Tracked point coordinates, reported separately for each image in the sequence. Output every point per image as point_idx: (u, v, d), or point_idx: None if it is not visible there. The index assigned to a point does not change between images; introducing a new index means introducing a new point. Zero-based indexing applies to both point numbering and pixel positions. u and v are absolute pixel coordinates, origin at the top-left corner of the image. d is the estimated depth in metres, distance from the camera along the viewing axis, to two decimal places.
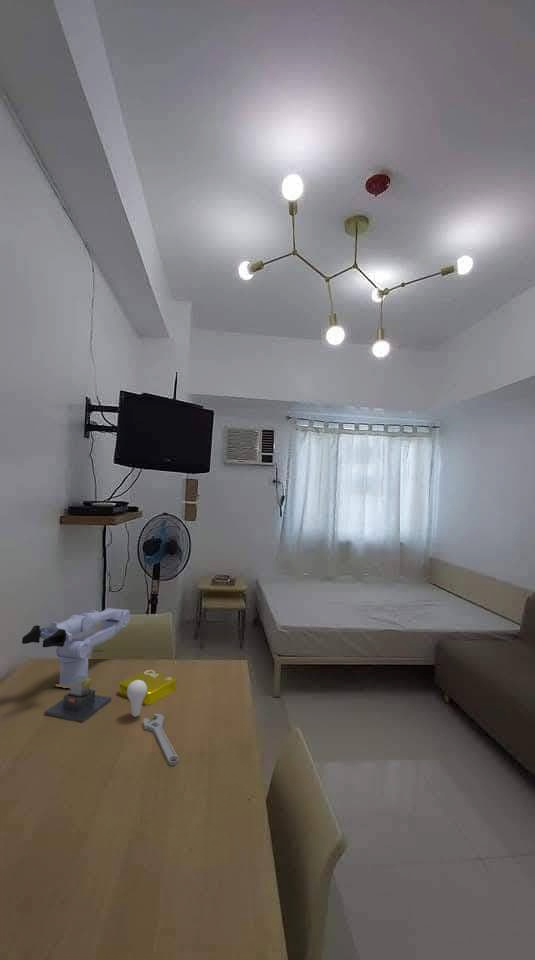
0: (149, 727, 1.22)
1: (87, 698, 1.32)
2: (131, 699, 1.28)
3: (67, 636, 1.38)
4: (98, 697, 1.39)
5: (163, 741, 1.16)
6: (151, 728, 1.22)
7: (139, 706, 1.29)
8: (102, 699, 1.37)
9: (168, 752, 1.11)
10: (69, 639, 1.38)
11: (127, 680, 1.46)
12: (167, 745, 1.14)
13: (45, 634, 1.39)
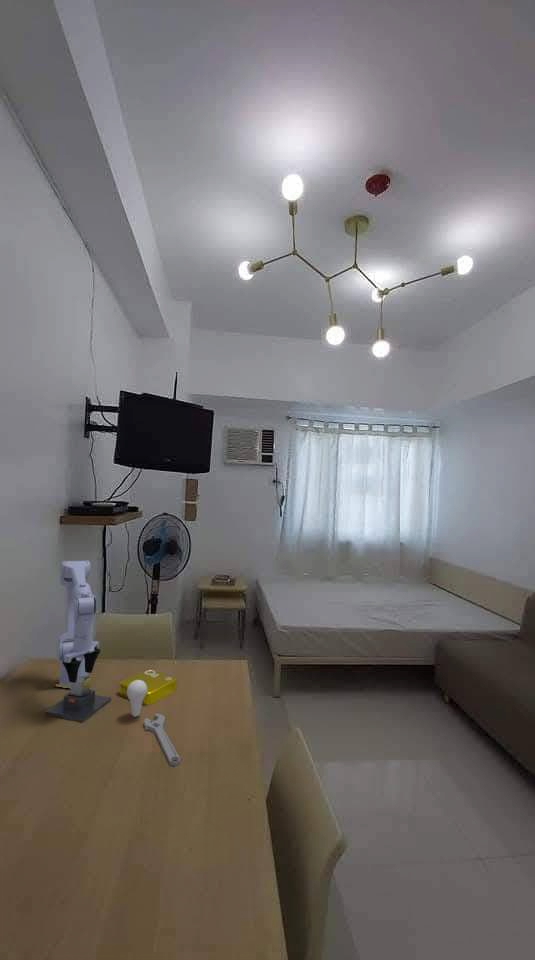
0: (150, 727, 1.22)
1: (87, 698, 1.32)
2: (131, 699, 1.28)
3: None
4: (98, 697, 1.39)
5: (164, 741, 1.16)
6: (152, 728, 1.22)
7: (139, 706, 1.29)
8: (102, 699, 1.37)
9: (169, 753, 1.11)
10: None
11: (127, 680, 1.46)
12: (168, 745, 1.14)
13: (78, 656, 1.33)
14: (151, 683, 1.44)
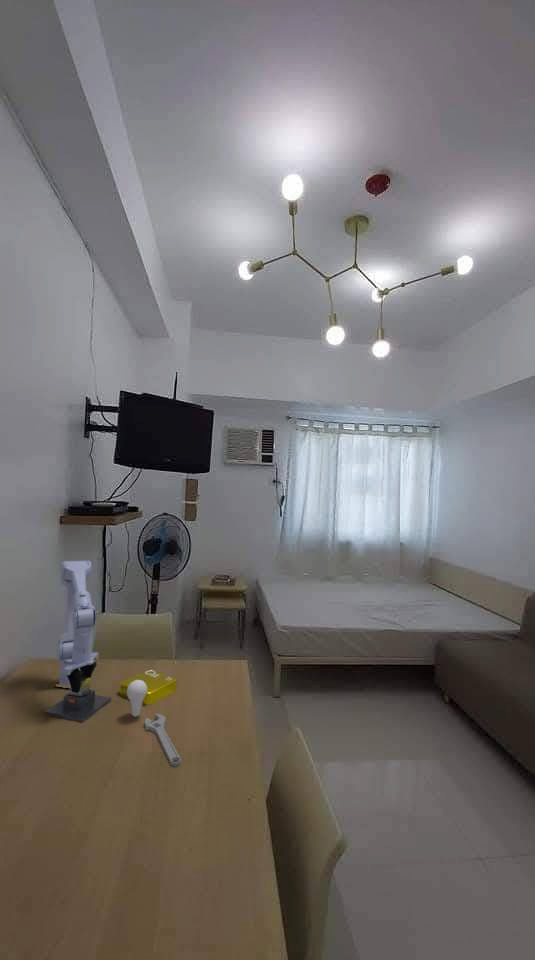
0: (151, 728, 1.22)
1: (87, 698, 1.32)
2: (131, 699, 1.28)
3: None
4: (98, 697, 1.39)
5: (165, 742, 1.15)
6: (153, 729, 1.22)
7: (139, 706, 1.29)
8: (102, 699, 1.37)
9: (170, 753, 1.11)
10: None
11: (127, 680, 1.46)
12: (169, 746, 1.14)
13: (77, 668, 1.33)
14: (151, 683, 1.44)
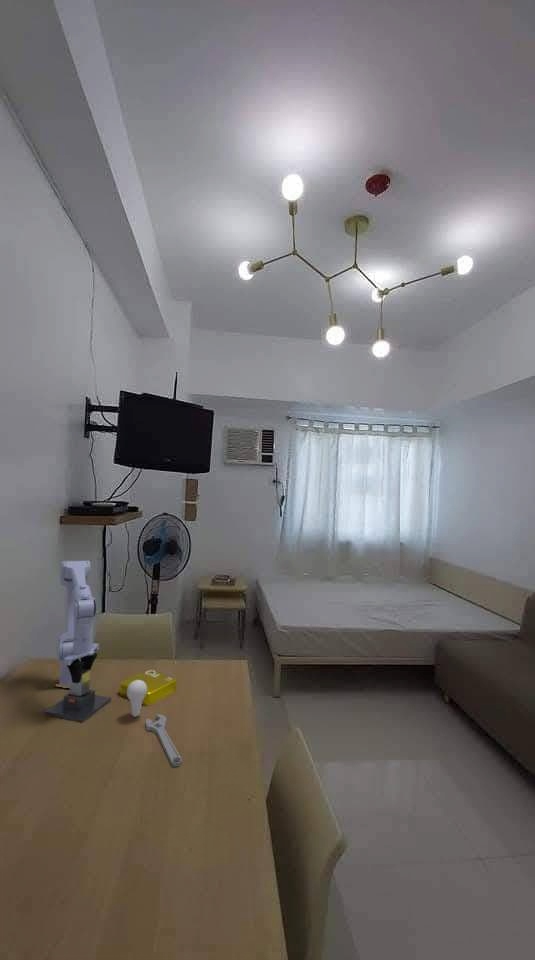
0: (152, 728, 1.22)
1: (87, 698, 1.32)
2: (131, 699, 1.28)
3: None
4: (98, 697, 1.39)
5: (166, 742, 1.15)
6: (154, 729, 1.22)
7: (139, 706, 1.29)
8: (102, 699, 1.37)
9: (171, 753, 1.11)
10: None
11: (128, 680, 1.46)
12: (170, 746, 1.14)
13: (78, 658, 1.33)
14: (151, 683, 1.44)
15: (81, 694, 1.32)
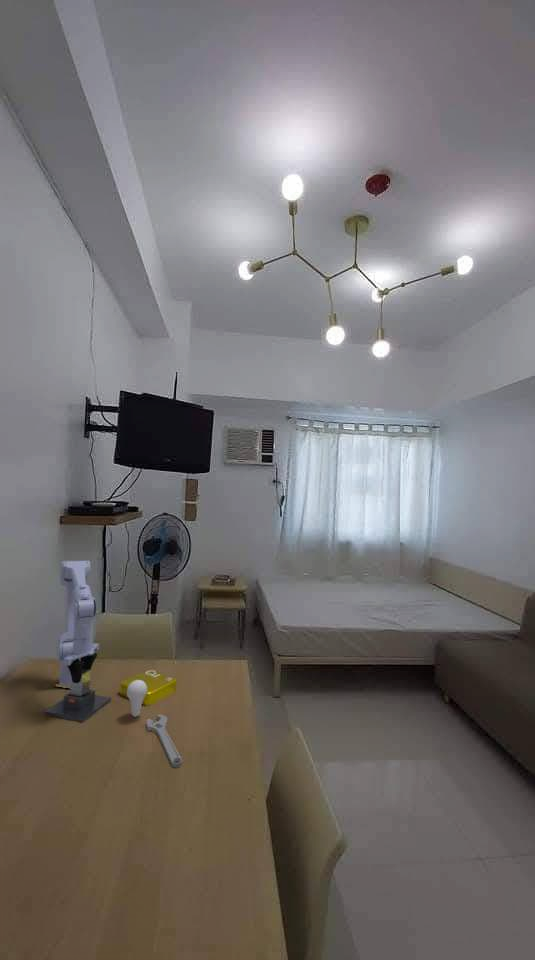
0: (152, 728, 1.22)
1: (87, 698, 1.32)
2: (131, 699, 1.28)
3: None
4: (98, 697, 1.39)
5: (166, 742, 1.15)
6: (154, 729, 1.22)
7: (139, 706, 1.29)
8: (102, 699, 1.37)
9: (171, 754, 1.10)
10: None
11: (128, 680, 1.46)
12: (170, 746, 1.13)
13: (78, 658, 1.33)
14: (151, 683, 1.44)
15: (81, 694, 1.32)
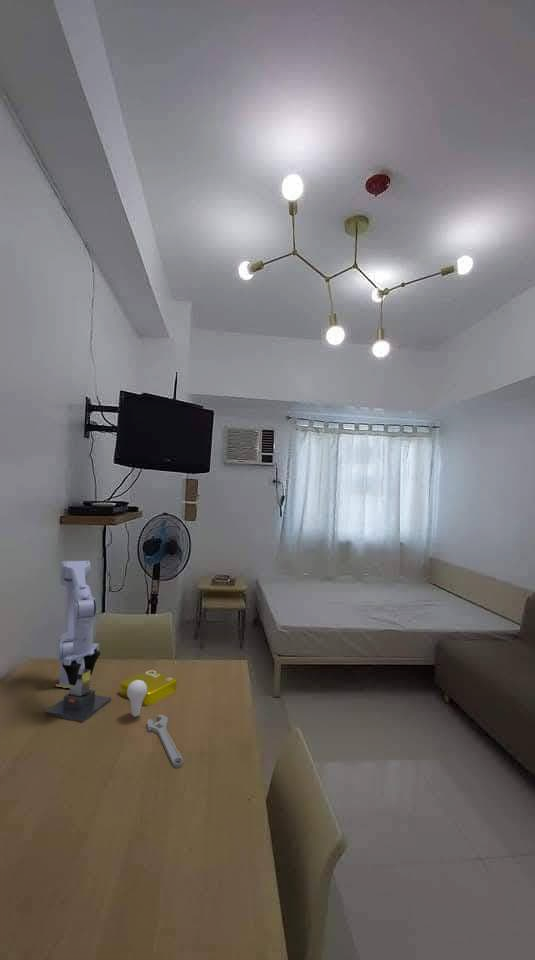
0: (153, 728, 1.22)
1: (87, 698, 1.32)
2: (131, 699, 1.28)
3: None
4: (98, 697, 1.39)
5: (167, 743, 1.15)
6: (155, 729, 1.21)
7: (139, 706, 1.29)
8: (102, 699, 1.37)
9: (172, 754, 1.10)
10: None
11: (128, 680, 1.46)
12: (171, 747, 1.13)
13: (78, 658, 1.33)
14: (151, 683, 1.44)
15: (81, 694, 1.32)
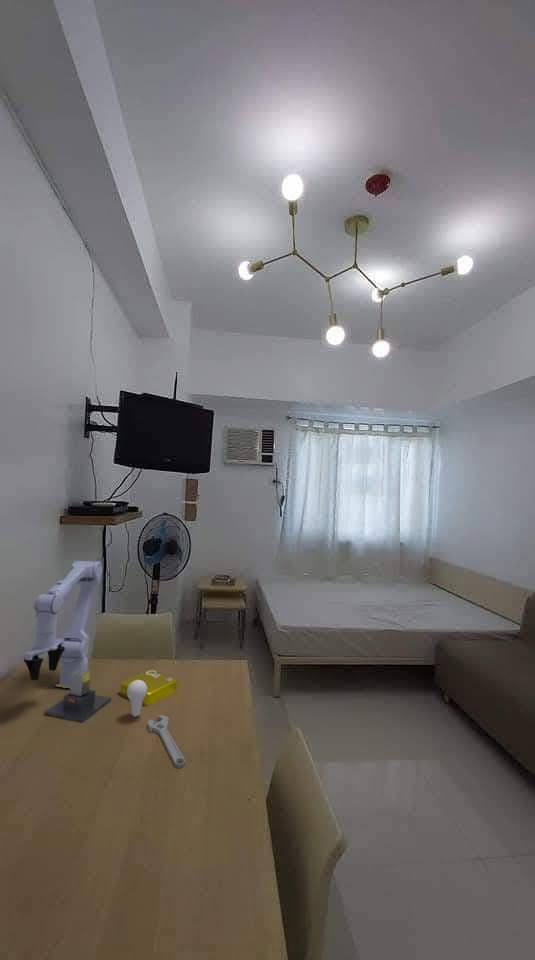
0: (154, 729, 1.22)
1: (87, 698, 1.32)
2: (131, 699, 1.28)
3: None
4: (98, 697, 1.39)
5: (169, 743, 1.15)
6: (156, 730, 1.21)
7: (139, 706, 1.29)
8: (102, 699, 1.37)
9: (174, 754, 1.10)
10: None
11: (128, 680, 1.46)
12: (173, 747, 1.13)
13: (41, 653, 1.32)
14: (152, 683, 1.44)
15: (81, 694, 1.32)
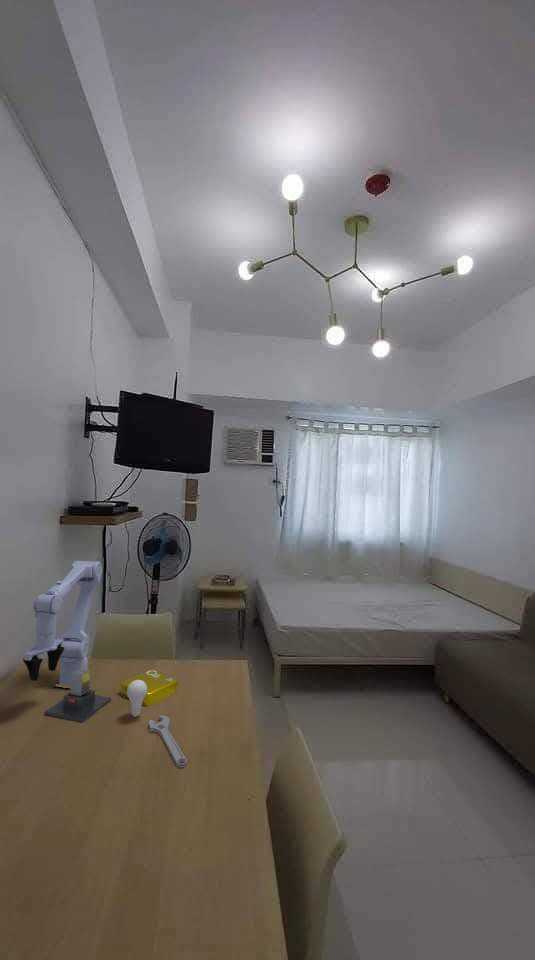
0: (155, 729, 1.22)
1: (87, 698, 1.32)
2: (131, 699, 1.28)
3: None
4: (98, 697, 1.39)
5: (170, 743, 1.15)
6: (157, 730, 1.21)
7: (139, 706, 1.29)
8: (102, 699, 1.37)
9: (176, 754, 1.10)
10: None
11: (128, 680, 1.46)
12: (174, 747, 1.13)
13: (40, 653, 1.32)
14: (152, 683, 1.44)
15: (81, 694, 1.32)
